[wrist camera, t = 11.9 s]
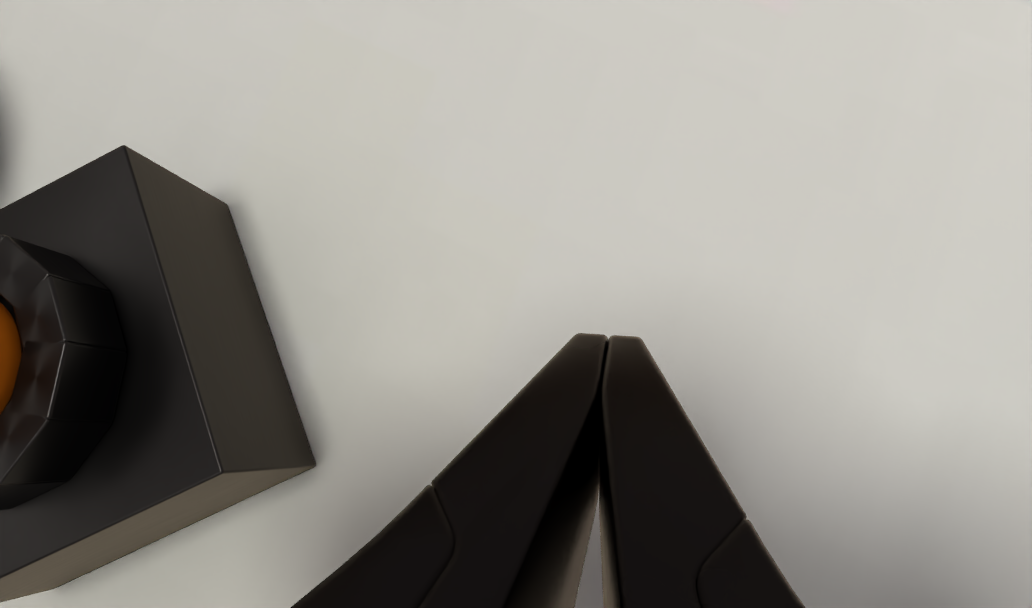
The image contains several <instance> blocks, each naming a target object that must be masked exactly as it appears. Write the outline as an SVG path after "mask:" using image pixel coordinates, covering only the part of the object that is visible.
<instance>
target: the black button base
mask: <svg viewBox="0 0 1032 608" xmlns="http://www.w3.org/2000/svg"><path fill="white" fill-rule="evenodd" d="M0 303H2V304H3V305H4V306H5V307H6V309H7V310H8V311H9V312H10V314H11V315H12V317H13V318H14V321H15V323H16V325H17V327H18V331H19V335H20V339H21V345H22V356H21V360H20V364H19V368H18V372H17V376H16V380H15V385H14V389H13V393H12V397H11V399H10V401H9V403H8V405H7V406H6V407H5V408H4V410H3V411H2V412H1V414H0V602H3V601H7V600H11V599H15V598H19V597H23V596H27V595H31V594H35V593H39V592H43V591H47V590H51V589H54V588H56V587H58V586H61V585H63V584H65V583H67V582H69V581H71V580H73V579H76V578H78V577H80V576H82V575H84V574H86V573H88V572H90V571H93V570H95V569H97V568H99V567H101V566H103V565H105V564H108V563H110V562H112V561H114V560H116V559H118V558H120V557H123V556H125V555H127V554H129V553H131V552H133V551H135V550H138V549H140V548H142V547H144V546H146V545H148V544H150V543H152V542H155V541H157V540H159V539H161V538H163V537H165V536H167V535H170V534H172V533H174V532H176V531H178V530H180V529H182V528H185V527H187V526H189V525H191V524H193V523H195V522H197V521H200V520H202V519H204V518H206V517H208V516H210V515H212V514H214V513H217V512H219V511H221V510H223V509H225V508H227V507H229V506H232V505H234V504H236V503H238V502H240V501H242V500H244V499H247V498H249V497H251V496H253V495H255V494H257V493H259V492H261V491H264V490H266V489H268V488H270V487H272V486H274V485H276V484H279V483H281V482H283V481H285V480H287V479H289V478H291V477H294V476H296V475H298V474H300V473H302V472H304V471H306V470H309V469H311V468H313V467H314V466H315V462H314V459H313V456H312V453H311V450H310V447H309V444H308V441H307V438H306V435H305V432H304V429H303V426H302V424H301V421H300V418H299V415H298V412H297V409H296V406H295V403H294V400H293V397H292V394H291V391H290V388H289V385H288V382H287V380H286V377H285V374H284V371H283V368H282V365H281V362H280V359H279V356H278V353H277V350H276V347H275V344H274V341H273V338H272V336H271V333H270V330H269V327H268V324H267V321H266V318H265V315H264V312H263V309H262V306H261V303H260V300H259V297H258V294H257V291H256V289H255V286H254V283H253V280H252V277H251V274H250V271H249V268H248V265H247V262H246V259H245V256H244V253H243V250H242V247H241V245H240V242H239V239H238V236H237V233H236V230H235V227H234V224H233V221H232V218H231V215H230V212H229V209H228V206H227V204H226V203H224V202H222V201H220V200H219V199H217V198H215V197H214V196H212V195H210V194H208V193H207V192H205V191H203V190H201V189H200V188H198V187H196V186H194V185H193V184H191V183H189V182H188V181H186V180H184V179H182V178H181V177H179V176H177V175H175V174H174V173H172V172H170V171H168V170H167V169H165V168H163V167H161V166H160V165H158V164H156V163H155V162H153V161H151V160H149V159H148V158H146V157H144V156H142V155H141V154H139V153H137V152H135V151H134V150H132V149H130V148H128V147H127V146H125V145H123V146H120V147H119V148H117V149H115V150H113V151H111V152H109V153H107V154H105V155H103V156H101V157H99V158H98V159H96V160H94V161H92V162H90V163H88V164H86V165H84V166H82V167H80V168H78V169H76V170H75V171H73V172H71V173H69V174H67V175H65V176H63V177H61V178H59V179H57V180H55V181H54V182H52V183H50V184H48V185H46V186H44V187H42V188H40V189H38V190H36V191H34V192H33V193H31V194H29V195H27V196H25V197H23V198H21V199H19V200H17V201H15V202H13V203H12V204H10V205H8V206H6V207H4V208H2V209H0Z"/></svg>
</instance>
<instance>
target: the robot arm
mask: <svg viewBox="0 0 1032 608" xmlns="http://www.w3.org/2000/svg"><path fill="white" fill-rule="evenodd" d="M598 492H599V520H600V541H601V562H602V584H603V605H604V608H806V607H805V606H804V605H803V603H802V602H801V600H800V599H799V598H798V596H797V595H796V594H795V592H794V591H793V590H792V588H791V586H790V585H789V583H788V582H787V580H786V579H785V577H784V575H783V574H782V572H781V571H780V569H779V568H778V566H777V565H776V563H775V561H774V560H773V558H772V557H771V555H770V554H769V552H768V550H767V549H766V547H765V546H764V544H763V542H762V541H761V539H760V537H759V535H758V534H757V532H756V530H755V529H754V527H753V525H752V524H751V522H750V521H749V520H746V514H745V512H744V511H743V509H742V507H741V506H740V504H739V502H738V501H737V499H736V497H735V496H734V494H733V492H732V490H731V489H730V487H729V485H728V484H727V482H726V480H725V479H724V477H723V475H722V474H721V472H720V470H719V469H718V467H717V465H716V463H715V462H714V460H713V458H712V457H711V455H710V453H709V452H708V450H707V448H706V447H705V445H704V443H703V442H702V440H701V438H700V436H699V435H698V433H697V431H696V430H695V428H694V426H693V425H692V423H691V421H690V420H689V418H688V416H687V415H686V413H685V411H684V409H683V408H682V406H681V404H680V403H679V401H678V399H677V398H676V396H675V394H674V393H673V391H672V389H671V388H670V386H669V384H668V382H667V381H666V379H665V377H664V376H663V374H662V372H661V371H660V369H659V367H658V366H657V364H656V362H655V361H654V359H653V357H652V355H651V354H650V352H649V350H648V349H647V347H646V345H645V344H644V342H643V341H642V339H641V338H639V337H634V336H617V335H614V336H611V337H610V338H609V339H608V338H607V337H606V336H605V335H600V334H584V333H578V334H576V335H575V336H574V337H573V338H572V339H571V340H570V341H569V342H568V343H567V344H566V345H565V346H564V347H563V348H562V349H561V350H560V351H559V352H558V353H557V354H556V355H555V356H554V357H553V358H552V359H551V360H550V361H549V362H548V363H547V364H546V365H545V366H544V367H543V368H542V369H541V370H540V371H539V372H538V373H537V374H536V375H535V376H534V377H533V378H532V379H531V381H530V382H529V383H528V384H527V385H526V386H525V387H524V388H523V389H522V390H521V391H520V392H519V393H518V394H517V395H516V396H515V397H514V398H513V399H512V400H511V401H510V402H509V403H508V404H507V405H506V406H505V407H504V408H503V409H502V410H501V411H500V412H499V413H498V414H497V415H496V416H495V417H494V418H493V419H492V420H491V421H490V422H489V423H488V424H487V425H486V426H485V427H484V429H483V430H482V431H481V432H480V433H479V434H478V435H477V436H476V437H475V438H474V439H473V440H472V441H471V442H470V443H469V444H468V445H467V446H466V447H465V448H464V449H463V450H462V451H461V452H460V453H459V454H458V455H457V456H456V457H455V458H454V459H453V460H452V461H451V462H450V463H449V464H448V465H447V466H446V467H445V468H444V469H443V470H442V471H441V472H440V473H439V474H438V476H437V477H436V478H435V479H434V480H433V481H432V486H431V485H428V486H426V487H425V488H424V489H423V490H422V491H421V492H420V494H419V495H418V496H417V497H416V498H415V499H414V500H413V501H412V502H411V503H410V504H409V505H408V506H407V507H406V508H405V509H404V510H403V511H401V512H400V513H399V514H398V515H397V516H396V517H395V518H394V519H393V520H392V521H391V522H390V523H389V524H388V525H387V526H386V527H385V528H384V529H383V530H382V531H381V532H380V533H379V534H378V535H376V536H375V537H374V538H373V539H372V540H371V541H370V542H368V543H367V544H366V545H365V546H364V547H363V548H361V549H360V550H359V551H358V552H357V553H356V554H354V555H353V556H352V557H351V558H350V559H349V560H348V561H346V562H345V563H344V564H343V565H342V566H341V567H339V568H338V569H337V570H336V571H335V572H333V573H332V574H331V575H330V576H329V577H327V578H326V579H325V580H324V581H322V582H321V583H320V584H319V585H318V586H316V587H315V588H314V589H313V590H311V591H310V592H309V593H308V594H307V595H305V596H304V597H303V598H302V599H301V600H299V601H298V602H297V603H296V604H294V605H293V606H292V607H291V608H574V607H575V602H576V598H577V593H578V589H579V584H580V580H581V575H582V571H583V566H584V562H585V557H586V553H587V548H588V544H589V539H590V534H591V530H592V525H593V521H594V516H595V511H596V506H597V500H598Z"/></svg>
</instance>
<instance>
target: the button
mask: <svg viewBox="0 0 1032 608" xmlns="http://www.w3.org/2000/svg"><path fill="white" fill-rule="evenodd" d="M21 356H22V345H21V339H20V335H19V331H18V327H17V325H16V323H15V321H14V318H13V317H12V315H11V314H10V312H9V311H8V310H7V309H6V307H5V306H4V305H3V304H2V303H0V414H1V412H2V411H3V410H4V408H5V407H6V406H7V405H8V403H9V401H10V399H11V397H12V393H13V389H14V385H15V380H16V376H17V372H18V368H19V364H20V360H21Z"/></svg>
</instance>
